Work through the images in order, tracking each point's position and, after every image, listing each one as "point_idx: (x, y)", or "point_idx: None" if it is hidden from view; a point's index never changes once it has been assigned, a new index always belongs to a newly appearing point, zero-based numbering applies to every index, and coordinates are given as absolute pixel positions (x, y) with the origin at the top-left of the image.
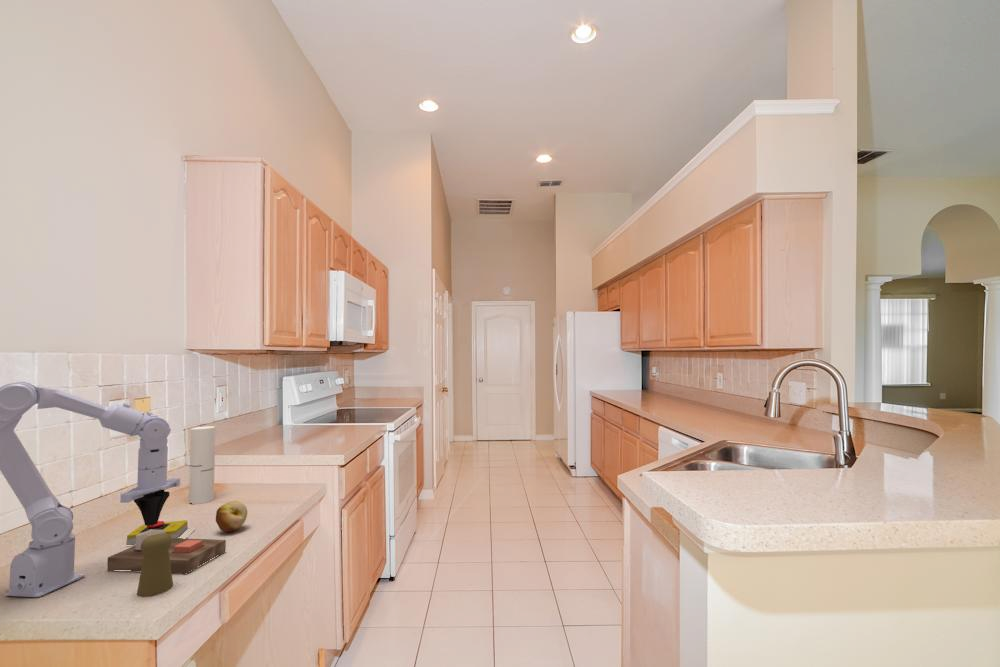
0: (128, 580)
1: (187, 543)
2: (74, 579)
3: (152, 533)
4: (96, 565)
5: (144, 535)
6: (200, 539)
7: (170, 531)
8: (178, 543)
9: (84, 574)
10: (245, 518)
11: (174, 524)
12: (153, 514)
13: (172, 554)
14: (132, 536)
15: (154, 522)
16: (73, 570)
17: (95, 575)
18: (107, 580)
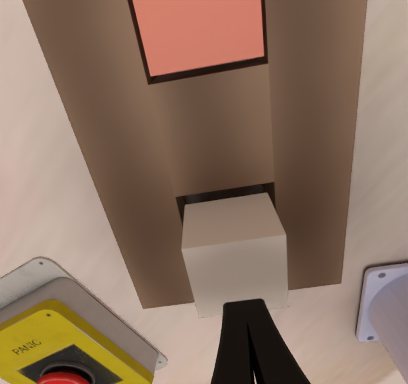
0: (399, 102)
1: (200, 4)
2: (405, 266)
3: (249, 261)
4: (286, 309)
5: (283, 272)
6: (61, 78)
7: (62, 315)
8: (152, 152)
9: (372, 272)
10: None
11: (14, 355)
12: (298, 371)
13: (292, 20)
14: (145, 374)
15: (255, 310)
16: (404, 297)
17: (353, 251)
18: (393, 181)
